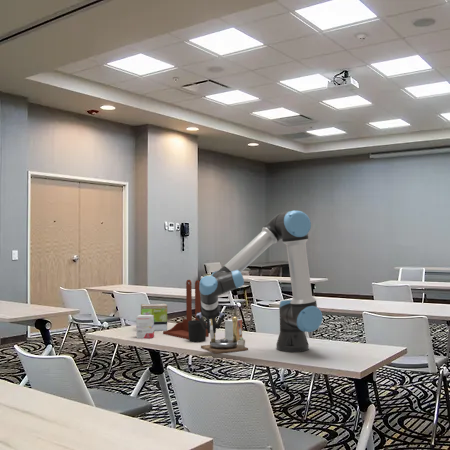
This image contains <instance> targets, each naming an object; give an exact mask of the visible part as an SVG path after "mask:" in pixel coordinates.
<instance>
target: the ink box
mask: <svg viewBox="0 0 450 450" xmlns="http://www.w3.org/2000/svg"><path fill="white" fill-rule="evenodd" d="M135 326H136V328H135V329H136V330H135V331H136V339H153V338H154V337H155V331H154V315H141V314H138V315H136V316H135Z"/></svg>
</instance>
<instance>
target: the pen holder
mask: <svg viewBox="0 0 450 450" xmlns="http://www.w3.org/2000/svg"><path fill="white" fill-rule="evenodd" d="M204 321H205V323H207V321H206V320H204ZM188 333H189V340H188V341H189V342H191V343H202V342H205V341H206V340H207V337H206V329H203V327H202V325H201V323H200V321H199V320H195V319H192V320H191V321H188Z"/></svg>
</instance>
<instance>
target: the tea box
mask: <svg viewBox="0 0 450 450" xmlns="http://www.w3.org/2000/svg"><path fill="white" fill-rule="evenodd" d="M140 315H154V332H155V331H157V332H159V331H161V332H163V331H167V330H168V304H166V303H141V304H140Z"/></svg>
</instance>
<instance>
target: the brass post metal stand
mask: <svg viewBox="0 0 450 450" xmlns="http://www.w3.org/2000/svg"><path fill="white" fill-rule="evenodd" d="M231 319H232V321H233V340H228V339H226V338H225V337H224V338H221V339H216V333H214V339H211V338H210V341H209V345H210V347H212V348H222V349H224V348H234V347H237V344H238V341H237V321H238V319H239V318H238V316H233V317H232V318H231ZM216 320H217V317H216V318H215V322H216ZM210 325H213V324H212V319H210Z"/></svg>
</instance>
